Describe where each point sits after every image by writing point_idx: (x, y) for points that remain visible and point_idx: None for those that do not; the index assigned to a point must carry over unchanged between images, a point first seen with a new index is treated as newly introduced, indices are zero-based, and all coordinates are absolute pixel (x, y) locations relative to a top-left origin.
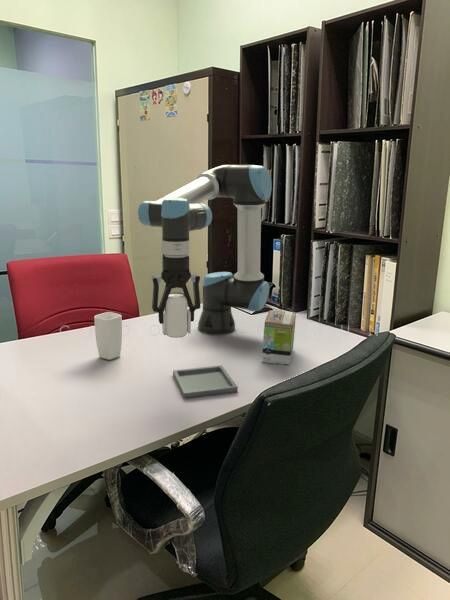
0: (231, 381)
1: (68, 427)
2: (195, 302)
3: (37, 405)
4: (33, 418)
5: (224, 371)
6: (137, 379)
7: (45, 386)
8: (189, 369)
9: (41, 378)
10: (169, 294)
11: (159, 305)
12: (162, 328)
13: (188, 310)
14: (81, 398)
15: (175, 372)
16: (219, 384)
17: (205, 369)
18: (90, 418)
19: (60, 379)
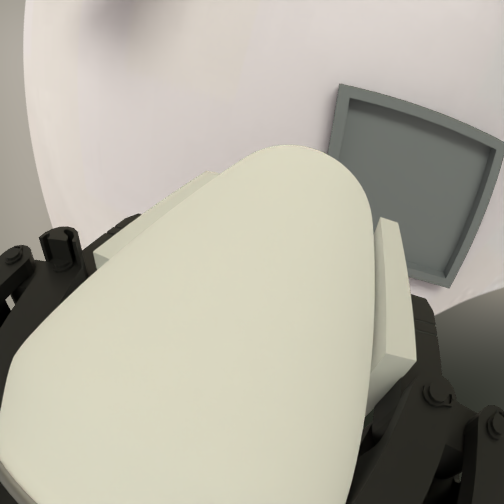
0: (460, 256)
1: (97, 230)
2: (467, 469)
3: (54, 142)
4: (58, 183)
5: (488, 189)
6: (221, 68)
7: (56, 70)
8: (399, 106)
9: (53, 36)
10: (2, 437)
11: (30, 294)
12: (193, 179)
13: (381, 384)
14: (101, 137)
15: (341, 103)
16: (435, 229)
17: (452, 129)
18: (119, 220)
19: (73, 41)
